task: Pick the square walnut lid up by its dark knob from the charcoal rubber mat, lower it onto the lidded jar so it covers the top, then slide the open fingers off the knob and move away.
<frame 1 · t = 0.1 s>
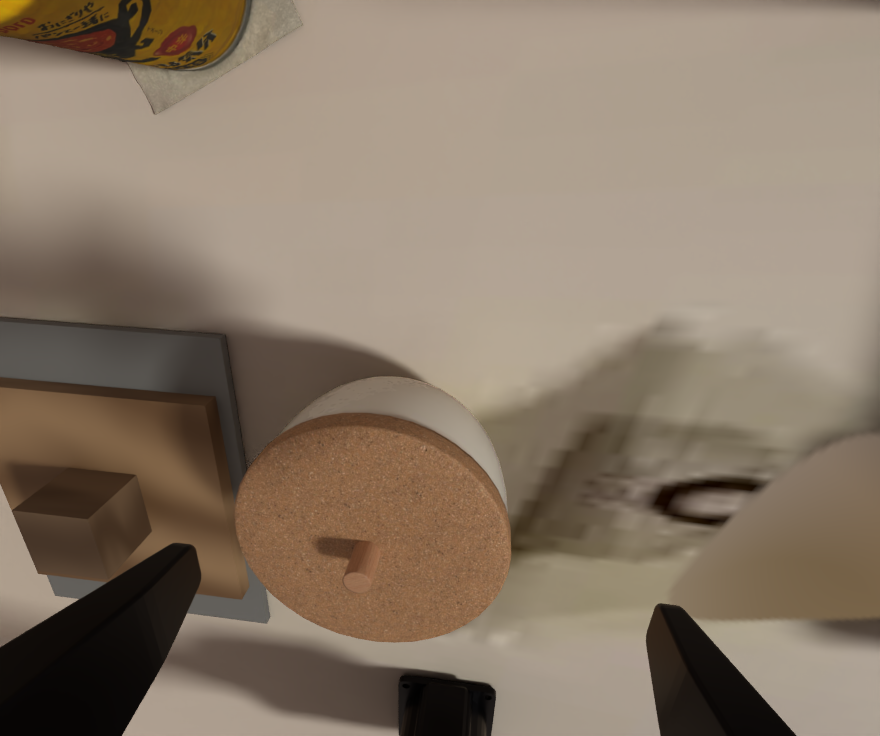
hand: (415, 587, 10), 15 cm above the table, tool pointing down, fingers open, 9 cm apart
mat: (129, 483, 29), on the table
lid: (123, 488, 29), resting on mat
lidded jar: (405, 435, 26), on the table
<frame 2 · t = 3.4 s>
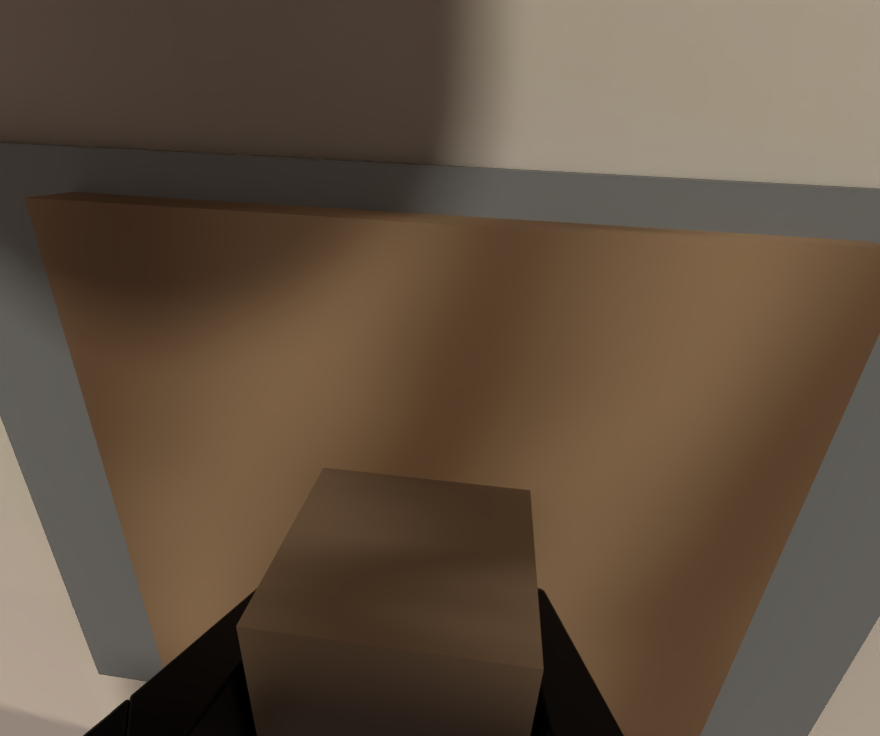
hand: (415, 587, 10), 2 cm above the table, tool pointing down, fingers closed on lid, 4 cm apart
mat: (431, 508, 12), on the table
lid: (428, 523, 11), resting on mat, touching gripper
when the fingers open (12 cm above the table, at t = 7.1 s): lid stays where it is, resting on lidded jar.
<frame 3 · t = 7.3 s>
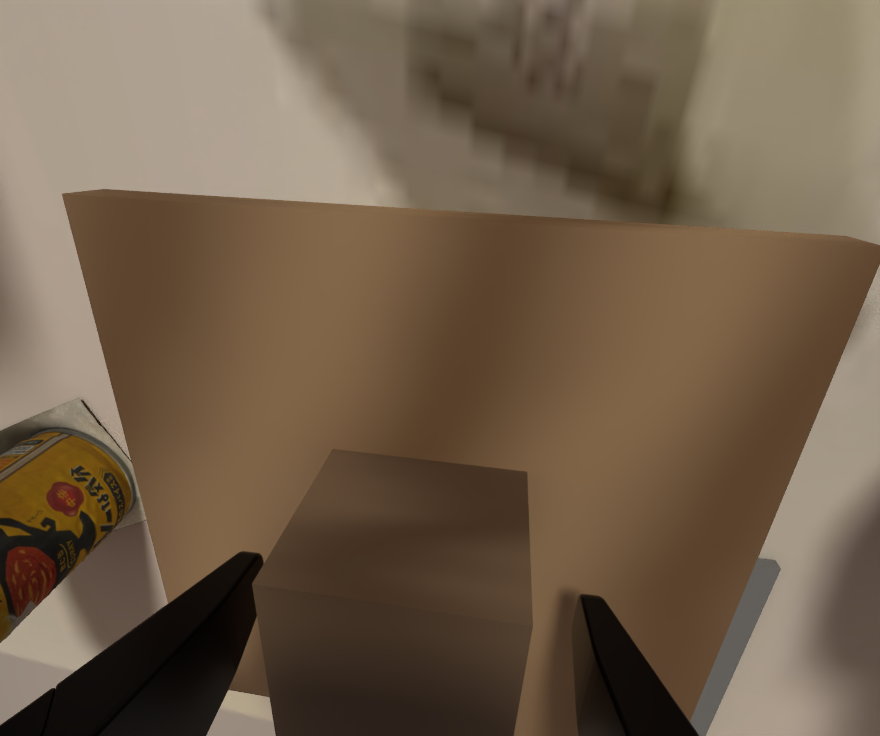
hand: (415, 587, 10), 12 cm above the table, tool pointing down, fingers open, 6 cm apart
mat: (535, 641, 27), on the table
condiment: (71, 475, 26), on the table
lid: (431, 505, 12), point 9 cm above the table, touching lidded jar
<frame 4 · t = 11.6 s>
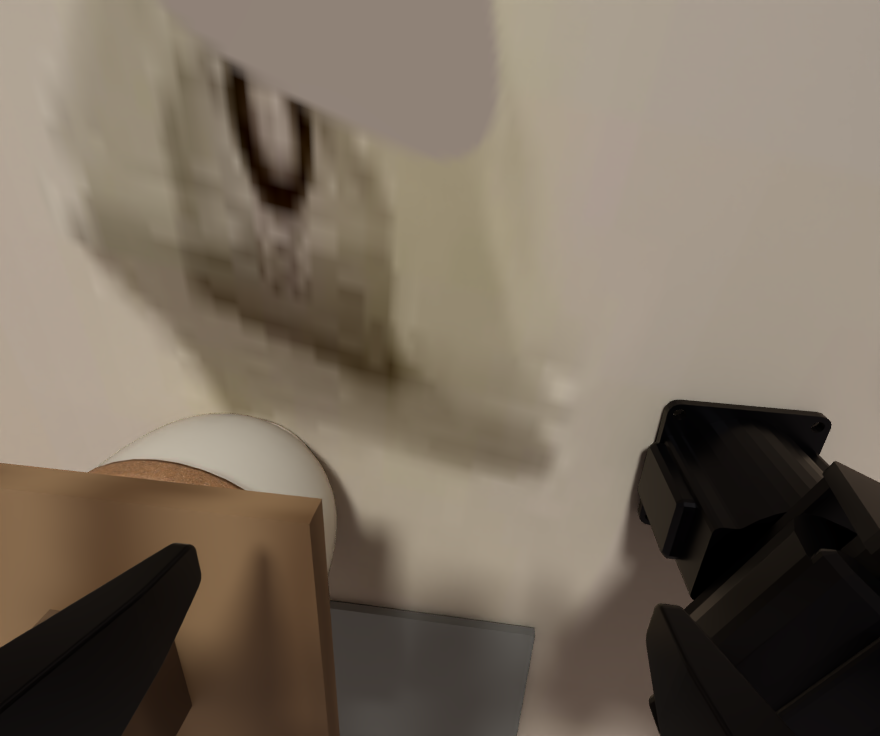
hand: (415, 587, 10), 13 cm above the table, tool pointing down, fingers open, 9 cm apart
mat: (364, 686, 32), on the table
lid: (143, 632, 17), point 9 cm above the table, touching lidded jar
lidded jar: (264, 466, 26), on the table, touching lid
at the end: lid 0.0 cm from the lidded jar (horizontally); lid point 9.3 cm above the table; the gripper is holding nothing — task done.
